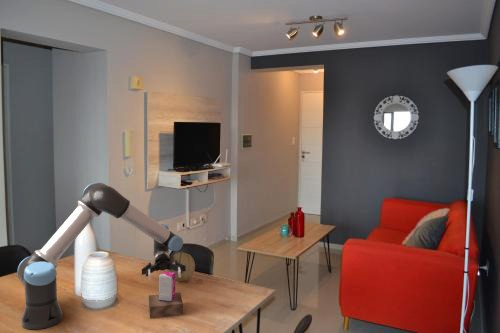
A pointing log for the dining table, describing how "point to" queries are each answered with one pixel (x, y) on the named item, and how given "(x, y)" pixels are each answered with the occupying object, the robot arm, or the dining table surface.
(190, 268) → the cantaloupe
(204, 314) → the dining table surface
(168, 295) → the supplement box
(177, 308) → the walnut block
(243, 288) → the dining table surface
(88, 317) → the dining table surface
